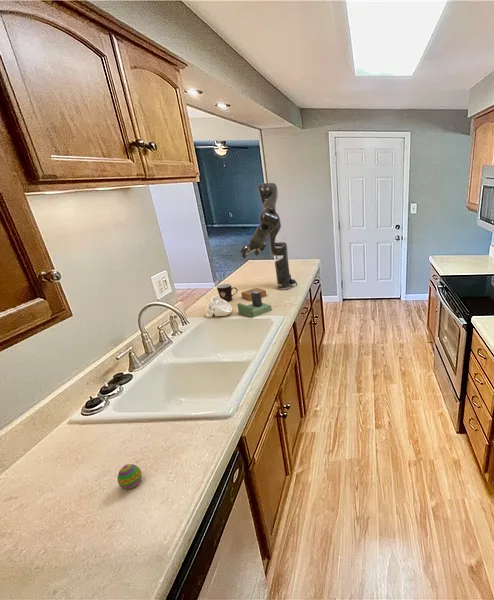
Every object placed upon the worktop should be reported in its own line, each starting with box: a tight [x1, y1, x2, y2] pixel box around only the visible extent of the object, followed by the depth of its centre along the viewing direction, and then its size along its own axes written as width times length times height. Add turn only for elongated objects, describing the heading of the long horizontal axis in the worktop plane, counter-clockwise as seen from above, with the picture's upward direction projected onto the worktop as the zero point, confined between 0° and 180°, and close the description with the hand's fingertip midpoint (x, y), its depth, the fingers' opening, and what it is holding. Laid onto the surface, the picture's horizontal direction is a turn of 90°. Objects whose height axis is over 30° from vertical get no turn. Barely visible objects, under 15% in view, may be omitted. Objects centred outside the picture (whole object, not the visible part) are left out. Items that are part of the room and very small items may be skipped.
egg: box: [117, 463, 143, 490], centre depth 85 cm, size 5×5×6 cm
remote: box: [251, 291, 263, 307], centre depth 196 cm, size 3×5×9 cm, turn 56°
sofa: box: [236, 302, 272, 318], centre depth 196 cm, size 14×12×6 cm
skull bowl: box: [204, 295, 234, 318], centre depth 191 cm, size 10×14×12 cm
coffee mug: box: [216, 283, 238, 303], centre depth 213 cm, size 12×9×10 cm
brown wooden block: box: [240, 287, 267, 302], centre depth 221 cm, size 12×10×4 cm
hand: (249, 255), depth 200 cm, fingers open, 8 cm apart
